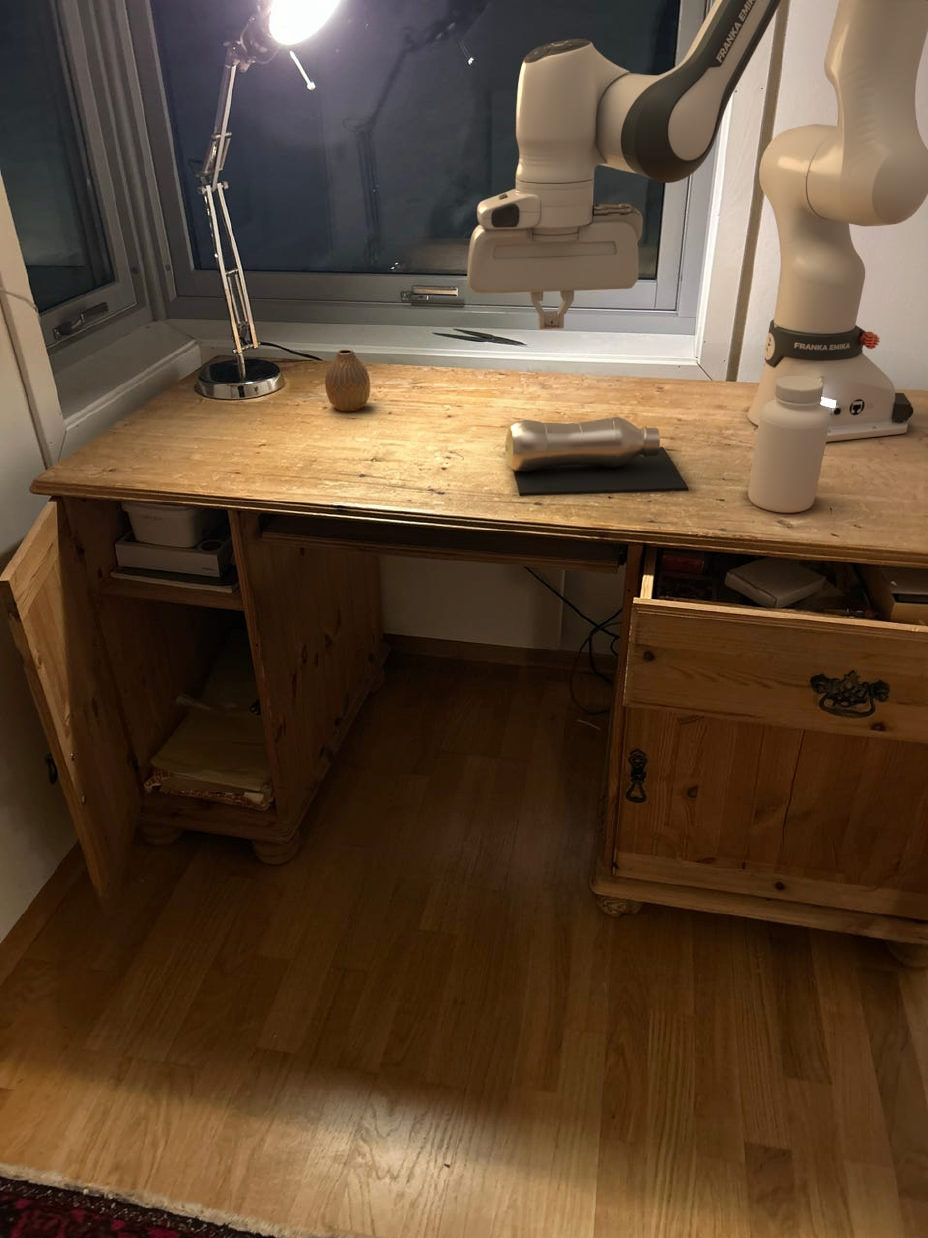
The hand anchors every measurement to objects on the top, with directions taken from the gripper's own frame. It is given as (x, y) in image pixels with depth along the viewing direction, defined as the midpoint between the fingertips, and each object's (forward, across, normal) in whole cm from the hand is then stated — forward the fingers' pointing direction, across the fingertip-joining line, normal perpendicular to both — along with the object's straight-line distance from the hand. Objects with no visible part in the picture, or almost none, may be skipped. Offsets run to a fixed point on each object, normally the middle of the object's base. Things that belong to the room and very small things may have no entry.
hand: (550, 327), depth 117 cm
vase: (+19, +28, -28) cm, 43 cm away
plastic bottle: (+15, +6, 0) cm, 16 cm away
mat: (+19, -6, 0) cm, 20 cm away
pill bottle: (+19, -28, +11) cm, 35 cm away
